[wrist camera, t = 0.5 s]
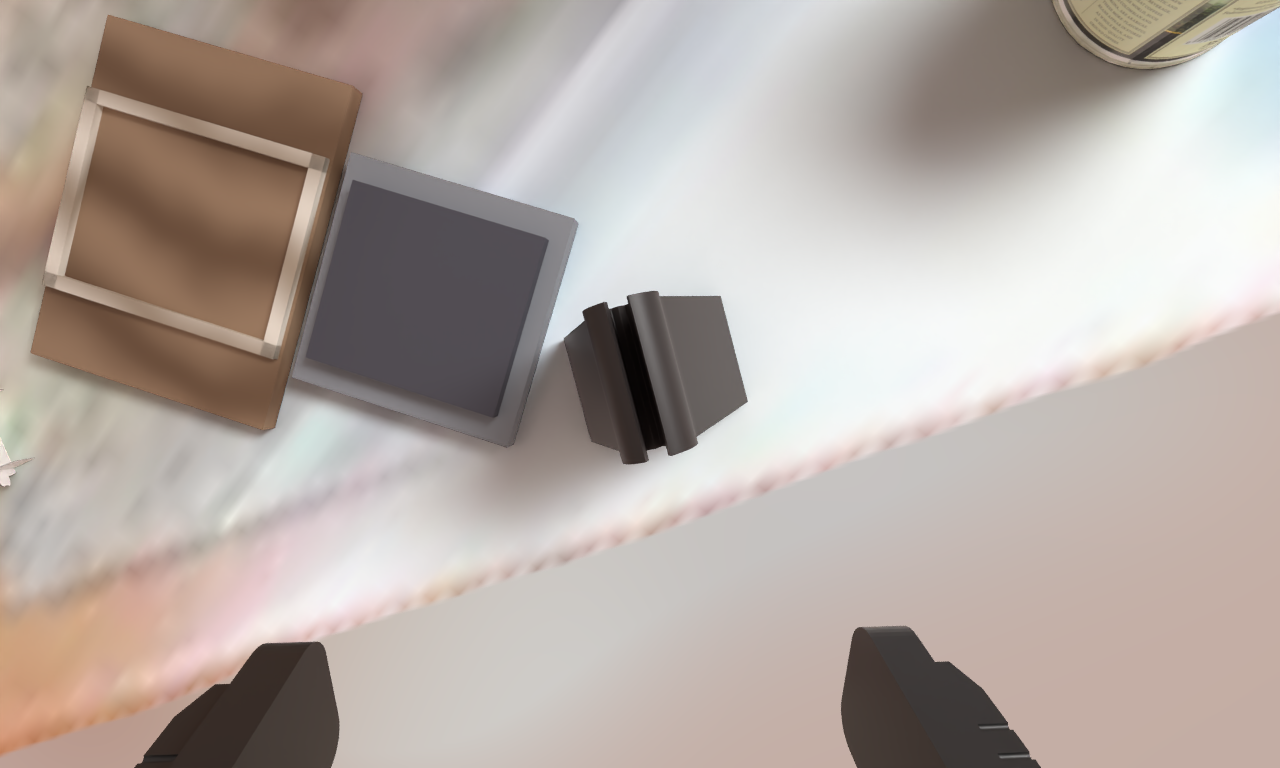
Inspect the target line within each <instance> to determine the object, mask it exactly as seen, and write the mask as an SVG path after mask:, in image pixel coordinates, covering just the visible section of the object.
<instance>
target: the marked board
mask: <svg viewBox="0 0 1280 768" xmlns="http://www.w3.org/2000/svg"><path fill="white" fill-rule="evenodd" d="M361 98H362V93H361V92H360V91H359V90H357V89H356V88H355V87H354V86H352V85H348V84H345V83H341V82H338V81H334V80H331V79H328V78H324V77H321V76H317V75H314V74H310V73H307V72H303V71H300V70H297V69H293V68H290V67H286V66H283V65H279V64H276V63H273V62H269V61H266V60H262V59H259V58H255V57H252V56H248V55H245V54H242V53H238V52H235V51H231V50H228V49H224V48H221V47H218V46H214V45H211V44H207V43H204V42H200V41H197V40H194V39H190V38H187V37H183V36H180V35H176V34H173V33H169V32H166V31H163V30H159V29H156V28H152V27H149V26H145V25H142V24H139V23H135V22H132V21H128V20H125V19H121V18H118V17H114V16H111V15H108V16H107V20H106V25H105V29H104V34H103V38H102V42H101V47H100V51H99V55H98V60H97V64H96V68H95V73H94V77H93V82H92V86H91V87H89V86H87V89H86V93H85V97H84V102H83V106H82V110H81V115H80V119H79V124H78V128H77V132H76V137H75V141H74V146H73V150H72V154H71V159H70V163H69V167H68V172H67V176H66V181H65V185H64V189H63V194H62V198H61V203H60V207H59V211H58V216H57V220H56V224H55V229H54V233H53V238H52V242H51V246H50V251H49V255H48V259H47V264H46V268H45V273H44V277H43V281H42V285H45V286H46V287H45V291H44V296H43V300H42V305H41V309H40V313H39V318H38V322H37V326H36V331H35V335H34V340H33V344H32V348H31V353H32V354H35V355H38V356H41V357H44V358H47V359H50V360H53V361H56V362H59V363H62V364H65V365H68V366H71V367H74V368H77V369H80V370H83V371H86V372H89V373H92V374H95V375H98V376H101V377H104V378H107V379H110V380H113V381H116V382H119V383H122V384H125V385H128V386H132V387H135V388H138V389H141V390H144V391H147V392H150V393H153V394H156V395H159V396H162V397H165V398H168V399H171V400H174V401H177V402H180V403H183V404H186V405H189V406H192V407H195V408H198V409H201V410H204V411H207V412H210V413H213V414H216V415H219V416H222V417H225V418H228V419H231V420H234V421H237V422H240V423H243V424H246V425H249V426H252V427H255V428H258V429H261V430H266V429H271V428H275V425H276V421H277V418H278V414H279V410H280V406H281V402H282V398H283V395H284V391H285V387H286V383H287V379H288V376H289V372H290V368H291V364H292V360H293V357H294V353H295V349H296V345H297V341H298V338H299V334H300V330H301V326H302V322H303V319H304V315H305V311H306V307H307V303H308V300H309V296H310V292H311V288H312V284H313V281H314V277H315V273H316V269H317V265H318V262H319V258H320V254H321V250H322V246H323V243H324V239H325V235H326V231H327V227H328V224H329V220H330V216H331V212H332V208H333V205H334V201H335V197H336V193H337V189H338V186H339V182H340V178H341V174H342V170H343V166H344V163H345V159H346V155H347V151H348V147H349V144H350V140H351V136H352V132H353V128H354V125H355V121H356V117H357V113H358V109H359V106H360V102H361Z"/></svg>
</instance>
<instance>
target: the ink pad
mask: <svg viewBox="0 0 1280 768" xmlns="http://www.w3.org/2000/svg"><path fill="white" fill-rule="evenodd" d="M577 227H578V222H577V221H576V220H575V219H574V218H570V217H567V216H564V215H560V214H557V213H554V212H550V211H547V210H544V209H540V208H537V207H534V206H530V205H527V204H523V203H520V202H517V201H513V200H510V199H507V198H503V197H500V196H497V195H493V194H490V193H487V192H483V191H480V190H477V189H473V188H470V187H466V186H463V185H460V184H456V183H453V182H450V181H446V180H443V179H440V178H436V177H433V176H430V175H426V174H423V173H420V172H416V171H413V170H409V169H406V168H403V167H399V166H396V165H393V164H389V163H386V162H383V161H379V160H376V159H373V158H369V157H366V156H363V155H359V154H356V153H353V152H351V154H350V158H349V162H348V165H347V169H346V173H345V177H344V181H343V184H342V188H341V192H340V196H339V200H338V203H337V207H336V211H335V215H334V219H333V222H332V226H331V230H330V234H329V238H328V241H327V245H326V249H325V253H324V257H323V260H322V264H321V268H320V272H319V276H318V279H317V283H316V287H315V291H314V294H313V298H312V302H311V306H310V310H309V313H308V317H307V321H306V325H305V329H304V332H303V336H302V340H301V344H300V348H299V351H298V355H297V359H296V363H295V367H294V370H293V374H292V378H295V379H298V380H301V381H304V382H307V383H311V384H314V385H317V386H320V387H323V388H326V389H329V390H332V391H335V392H338V393H341V394H344V395H347V396H350V397H354V398H357V399H360V400H363V401H366V402H369V403H372V404H375V405H378V406H381V407H384V408H387V409H390V410H394V411H397V412H400V413H403V414H406V415H409V416H412V417H415V418H418V419H421V420H424V421H427V422H430V423H434V424H437V425H440V426H443V427H446V428H449V429H452V430H455V431H458V432H461V433H464V434H467V435H470V436H473V437H477V438H480V439H483V440H486V441H489V442H492V443H495V444H498V445H501V446H504V447H509V446H511V445H513V444H514V441H515V437H516V434H517V431H518V427H519V424H520V420H521V417H522V414H523V410H524V407H525V403H526V400H527V397H528V393H529V390H530V386H531V383H532V380H533V376H534V373H535V370H536V366H537V363H538V359H539V356H540V353H541V349H542V346H543V342H544V339H545V336H546V332H547V329H548V325H549V322H550V319H551V315H552V312H553V308H554V305H555V302H556V298H557V295H558V292H559V288H560V285H561V281H562V278H563V275H564V271H565V268H566V264H567V261H568V258H569V254H570V251H571V247H572V244H573V241H574V237H575V234H576V230H577Z"/></svg>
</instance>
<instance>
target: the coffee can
mask: <svg viewBox="0 0 1280 768" xmlns="http://www.w3.org/2000/svg"><path fill="white" fill-rule="evenodd" d="M1052 1H1053V5H1054V7H1055V10H1056V12H1057V14H1058V16H1059V18H1060V20H1061V22H1062V24H1063V25H1064V27H1065V28H1066V30H1067V31H1068V32H1069V34H1070V35H1071V36H1072V37H1073V38H1074V39H1075V40H1076V41H1077V42H1078V43H1079V44H1080V45H1081V46H1082V47H1084V48H1085V49H1087V50H1088V51H1090V52H1091V53H1093V54H1094V55H1096V56H1097V57H1100V58H1102V59H1104V60H1105V61H1107V62H1110V63H1113V64H1116V65H1120V66H1123V67H1129V68H1138V69H1156V68H1162V67H1167V66H1172V65H1176V64H1179V63H1183V62H1186V61H1188V60H1191V59H1193V58H1195V57H1198V56H1200V55H1202V54H1203V53H1205V52H1207V51H1209V50H1210V49H1212V48H1213V47H1215V46H1216V45H1218V44H1219V43H1221V42H1222V41H1223V40H1225V39H1226V38H1228V37H1229V36H1231V35H1233V34H1234V33H1236V32H1238V31H1240V30H1241V29H1243V28H1245V27H1246V26H1248V25H1250V24H1251V23H1253V22H1255V21H1256V20H1258V19H1260V18H1262V17H1263V16H1265V15H1267V14H1269V13H1270V12H1272V11H1274V10H1276V9H1277V8H1279V7H1280V0H1052Z"/></svg>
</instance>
